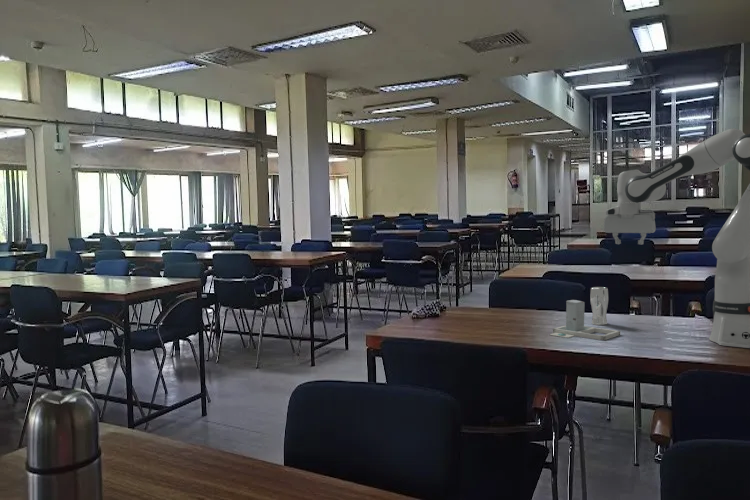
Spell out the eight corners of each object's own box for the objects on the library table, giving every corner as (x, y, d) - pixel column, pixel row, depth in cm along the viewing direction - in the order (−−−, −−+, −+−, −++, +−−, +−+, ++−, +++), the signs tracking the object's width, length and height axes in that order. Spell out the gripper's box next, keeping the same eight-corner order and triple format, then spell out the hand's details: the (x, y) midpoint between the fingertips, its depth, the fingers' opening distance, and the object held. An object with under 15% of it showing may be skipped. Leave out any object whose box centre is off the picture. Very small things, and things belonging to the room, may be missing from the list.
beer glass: (605, 325, 241) (605, 289, 240) (588, 324, 246) (587, 288, 245) (610, 323, 247) (610, 287, 246) (593, 321, 251) (593, 286, 250)
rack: (620, 334, 224) (620, 331, 224) (596, 342, 213) (596, 338, 213) (570, 327, 240) (570, 324, 240) (545, 334, 229) (545, 330, 229)
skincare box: (565, 330, 234) (565, 300, 233) (574, 329, 235) (574, 299, 234) (575, 333, 228) (575, 302, 227) (585, 332, 229) (584, 301, 229)
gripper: (658, 209, 234) (658, 244, 234) (609, 210, 249) (609, 243, 250) (651, 209, 229) (651, 245, 230) (601, 210, 245) (602, 244, 246)
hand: (629, 244), depth 240 cm, fingers open, 8 cm apart
